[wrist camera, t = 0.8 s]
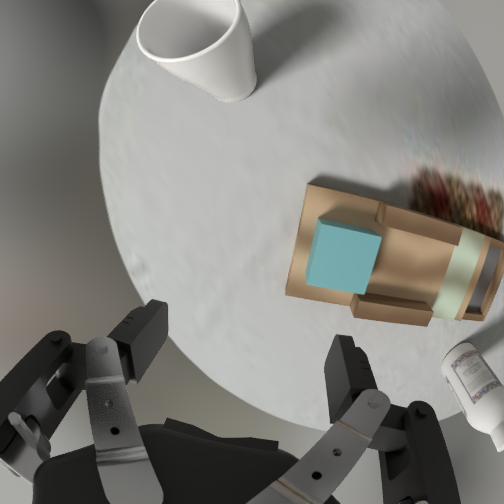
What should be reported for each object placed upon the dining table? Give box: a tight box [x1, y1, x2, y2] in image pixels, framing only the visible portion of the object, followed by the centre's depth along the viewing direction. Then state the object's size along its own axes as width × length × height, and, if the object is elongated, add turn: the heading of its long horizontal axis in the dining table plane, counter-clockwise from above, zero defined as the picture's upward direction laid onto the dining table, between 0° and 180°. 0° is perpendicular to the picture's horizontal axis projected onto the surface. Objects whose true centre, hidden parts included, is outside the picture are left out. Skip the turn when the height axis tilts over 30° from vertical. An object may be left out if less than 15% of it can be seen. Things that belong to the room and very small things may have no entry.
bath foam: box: [441, 343, 504, 452], centre depth 22 cm, size 7×7×20 cm
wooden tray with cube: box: [285, 184, 504, 326], centre depth 26 cm, size 12×32×4 cm, turn 81°
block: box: [305, 218, 382, 295], centre depth 26 cm, size 6×6×3 cm
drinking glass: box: [136, 0, 257, 102], centre depth 18 cm, size 7×7×15 cm
